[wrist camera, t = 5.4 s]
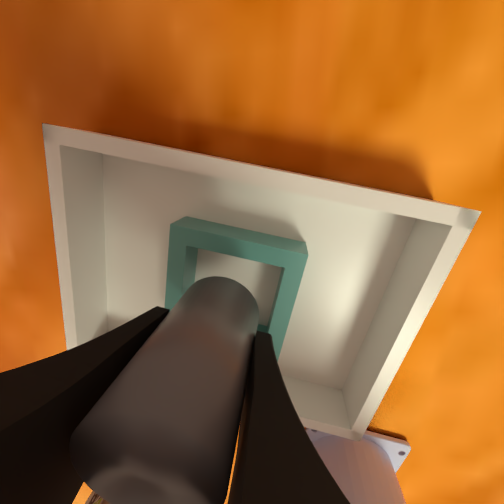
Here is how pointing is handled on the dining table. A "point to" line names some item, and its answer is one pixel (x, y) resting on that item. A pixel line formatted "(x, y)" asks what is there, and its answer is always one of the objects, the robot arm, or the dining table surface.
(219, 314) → the cylinder
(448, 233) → the walled box
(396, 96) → the dining table surface
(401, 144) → the dining table surface
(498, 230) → the dining table surface
